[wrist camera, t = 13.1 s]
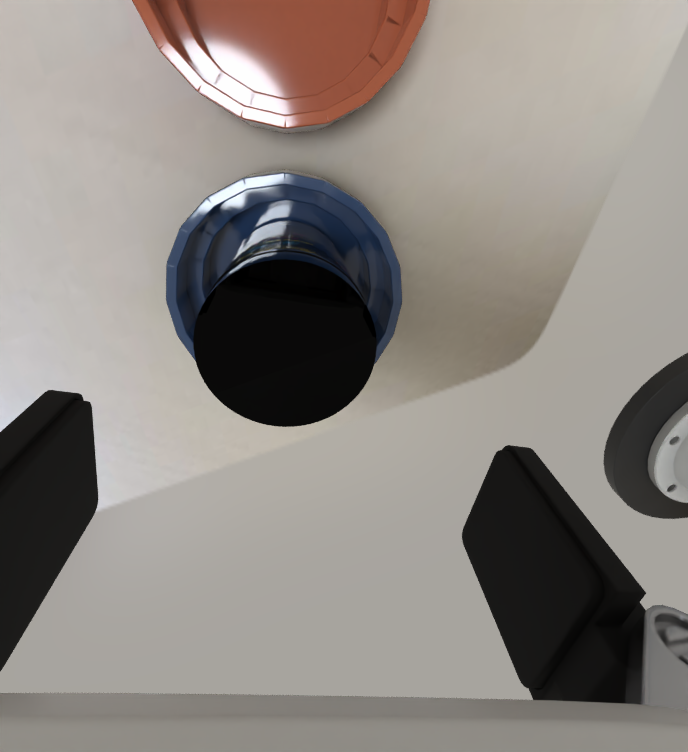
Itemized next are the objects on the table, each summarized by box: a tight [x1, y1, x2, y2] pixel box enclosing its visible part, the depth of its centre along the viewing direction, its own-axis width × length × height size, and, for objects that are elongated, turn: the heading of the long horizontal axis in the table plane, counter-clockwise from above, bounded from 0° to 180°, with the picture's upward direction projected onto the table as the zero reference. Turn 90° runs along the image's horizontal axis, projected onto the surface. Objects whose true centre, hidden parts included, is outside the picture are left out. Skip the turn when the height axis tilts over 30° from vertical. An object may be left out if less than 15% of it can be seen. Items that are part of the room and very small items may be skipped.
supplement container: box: [193, 221, 377, 427], centre depth 20 cm, size 7×7×10 cm
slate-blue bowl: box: [166, 169, 402, 364], centre depth 23 cm, size 11×11×5 cm
